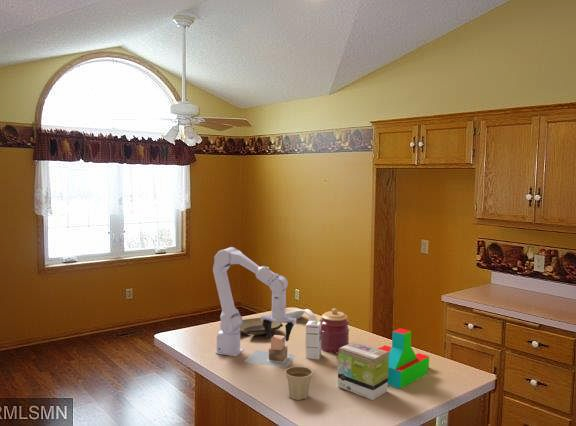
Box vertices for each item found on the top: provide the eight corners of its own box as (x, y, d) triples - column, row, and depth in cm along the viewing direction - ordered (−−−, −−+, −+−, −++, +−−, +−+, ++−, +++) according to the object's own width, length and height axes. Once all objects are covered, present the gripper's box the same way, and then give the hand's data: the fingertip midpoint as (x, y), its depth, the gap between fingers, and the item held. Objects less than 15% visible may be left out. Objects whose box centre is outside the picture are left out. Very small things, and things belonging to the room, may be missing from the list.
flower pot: (283, 390, 173) (283, 366, 173) (310, 389, 174) (310, 365, 173) (285, 402, 164) (286, 377, 163) (314, 402, 165) (314, 376, 164)
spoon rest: (276, 317, 262) (276, 304, 261) (294, 314, 269) (294, 301, 269) (305, 329, 244) (306, 314, 243) (323, 324, 251) (323, 310, 250)
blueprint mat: (243, 362, 198) (243, 361, 198) (255, 350, 212) (255, 350, 212) (286, 368, 193) (286, 367, 193) (296, 355, 207) (296, 354, 207)
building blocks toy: (434, 370, 194) (436, 324, 193) (400, 389, 176) (401, 338, 175) (392, 357, 207) (393, 314, 206) (356, 374, 189) (358, 327, 188)
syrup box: (319, 360, 202) (319, 325, 201) (305, 358, 203) (305, 324, 202) (321, 355, 208) (321, 321, 207) (307, 353, 209) (307, 320, 208)
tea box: (336, 388, 176) (337, 347, 175) (352, 379, 184) (353, 340, 182) (373, 401, 166) (374, 358, 165) (388, 391, 174) (389, 350, 172)
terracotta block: (270, 349, 200) (270, 338, 200) (274, 345, 205) (274, 334, 204) (281, 350, 199) (281, 339, 199) (284, 346, 203) (284, 336, 203)
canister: (334, 355, 207) (335, 314, 206) (312, 347, 217) (313, 307, 215) (355, 348, 216) (356, 309, 214) (333, 341, 225) (334, 302, 224)
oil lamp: (258, 345, 219) (258, 328, 219) (215, 330, 240) (215, 314, 239) (292, 333, 236) (292, 317, 235) (249, 320, 256) (249, 305, 255)
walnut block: (268, 360, 201) (268, 349, 200) (273, 354, 206) (273, 344, 206) (282, 361, 199) (283, 350, 199) (287, 356, 205) (287, 345, 204)
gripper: (258, 307, 199) (258, 340, 200) (293, 310, 195) (292, 344, 196) (264, 303, 206) (263, 335, 207) (298, 306, 202) (297, 339, 203)
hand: (278, 339), depth 202 cm, fingers open, 7 cm apart
